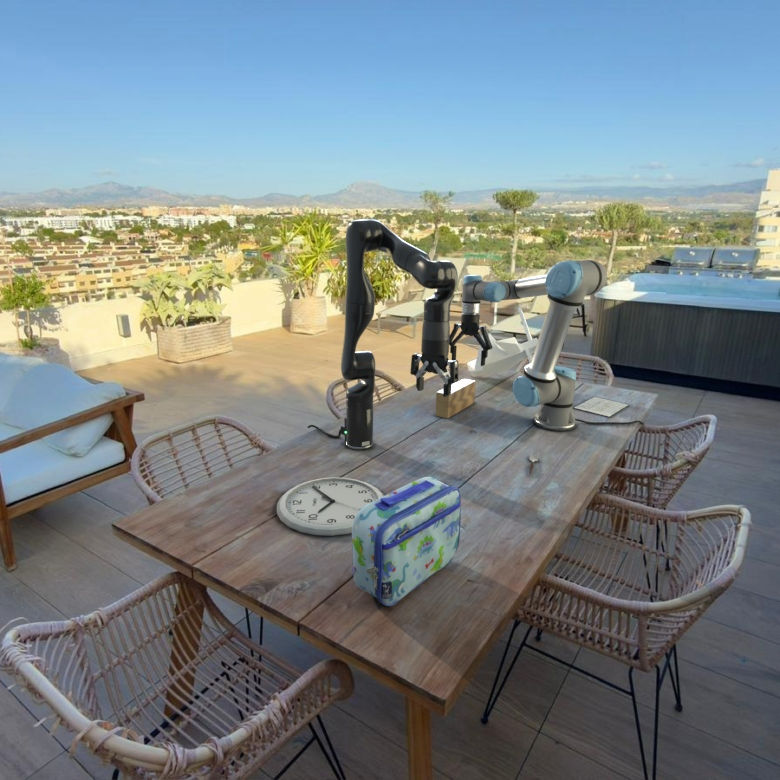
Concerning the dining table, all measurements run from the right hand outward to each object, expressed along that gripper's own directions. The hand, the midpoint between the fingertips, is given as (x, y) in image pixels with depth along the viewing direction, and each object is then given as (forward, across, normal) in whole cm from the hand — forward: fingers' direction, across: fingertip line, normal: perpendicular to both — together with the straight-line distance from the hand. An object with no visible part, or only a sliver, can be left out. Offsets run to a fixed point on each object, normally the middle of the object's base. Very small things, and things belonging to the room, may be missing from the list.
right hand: (468, 363), depth 222 cm
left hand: (-10, +25, -75) cm, 79 cm away
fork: (+19, +45, -44) cm, 66 cm away
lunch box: (+19, +42, -115) cm, 124 cm away
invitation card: (+19, +49, +32) cm, 61 cm away
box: (+18, 0, -9) cm, 20 cm away
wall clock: (+19, +9, -100) cm, 103 cm away
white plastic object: (+18, +2, +40) cm, 44 cm away
